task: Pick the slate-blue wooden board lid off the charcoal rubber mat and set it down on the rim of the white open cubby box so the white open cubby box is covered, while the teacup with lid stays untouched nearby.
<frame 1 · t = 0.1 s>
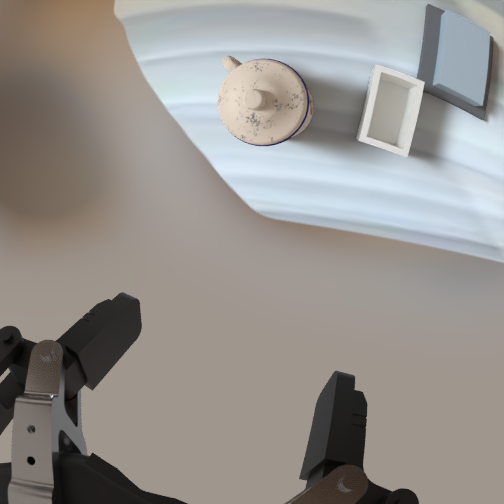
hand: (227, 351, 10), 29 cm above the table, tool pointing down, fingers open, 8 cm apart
teacup with lid: (272, 98, 32), on the table
mat: (456, 60, 22), on the table
white open cubby box: (385, 111, 29), on the table
lid: (459, 58, 21), point 1 cm above the table, touching mat
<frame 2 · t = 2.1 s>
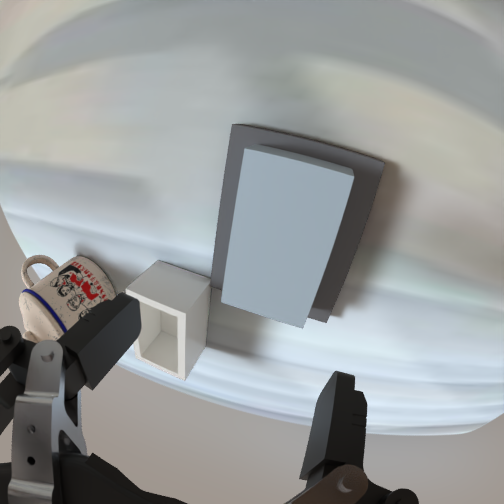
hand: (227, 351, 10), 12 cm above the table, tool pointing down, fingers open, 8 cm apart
teacup with lid: (86, 276, 31), on the table
mat: (288, 227, 21), on the table
white open cubby box: (182, 307, 27), on the table
lid: (286, 232, 20), point 1 cm above the table, touching mat
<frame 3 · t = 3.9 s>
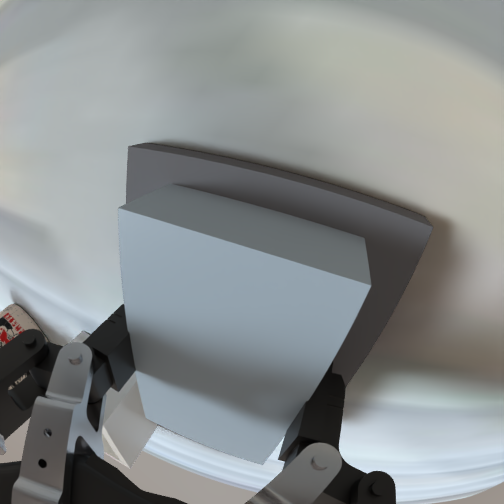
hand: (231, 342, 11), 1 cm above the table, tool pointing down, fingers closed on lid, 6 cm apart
teacup with lid: (27, 325, 22), on the table
mat: (242, 323, 12), on the table
white open cubby box: (122, 385, 19), on the table
lid: (234, 339, 11), point 1 cm above the table, touching gripper, mat
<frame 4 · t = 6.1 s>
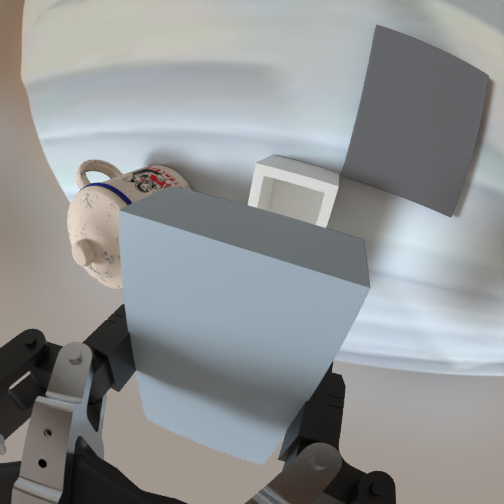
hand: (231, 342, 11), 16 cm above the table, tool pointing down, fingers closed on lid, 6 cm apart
teacup with lid: (154, 194, 28), on the table
mat: (419, 119, 18), on the table
white open cubby box: (292, 213, 24), on the table
lid: (234, 340, 11), point 16 cm above the table, touching gripper
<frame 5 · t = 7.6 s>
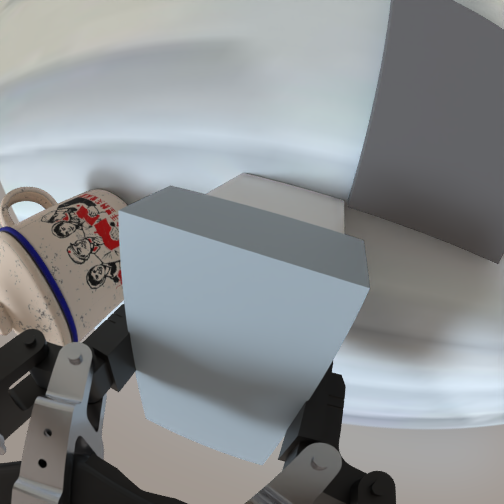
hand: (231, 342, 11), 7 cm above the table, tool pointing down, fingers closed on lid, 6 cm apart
teacup with lid: (100, 225, 21), on the table
mat: (464, 119, 10), on the table
white open cubby box: (275, 258, 17), on the table
lid: (234, 340, 11), point 7 cm above the table, touching gripper
when the fingers open (7 cm above the table, at t = 8.7 s): lid drops 1 cm, resting on white open cubby box.
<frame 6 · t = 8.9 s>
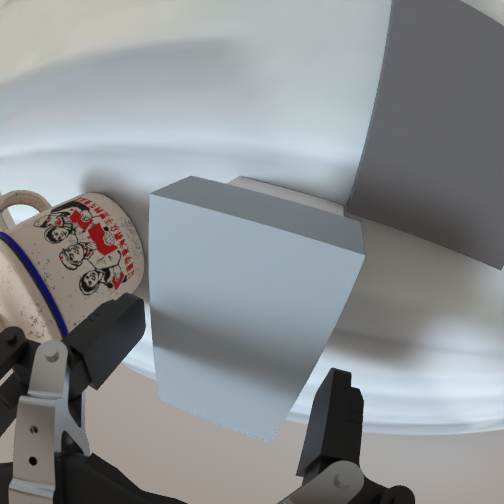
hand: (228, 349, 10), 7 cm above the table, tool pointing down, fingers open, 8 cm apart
teacup with lid: (95, 229, 20), on the table
mat: (467, 121, 10), on the table
white open cubby box: (272, 264, 17), on the table
lid: (245, 317, 12), point 5 cm above the table, touching white open cubby box
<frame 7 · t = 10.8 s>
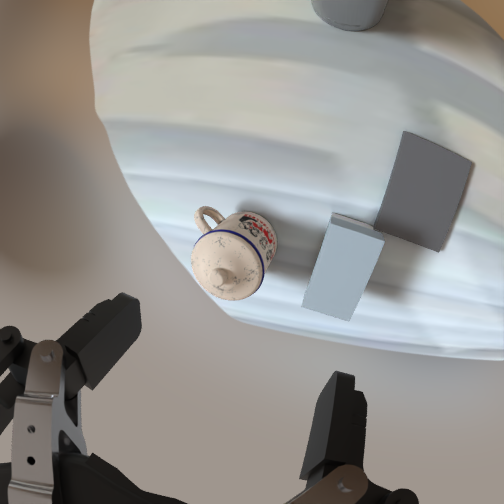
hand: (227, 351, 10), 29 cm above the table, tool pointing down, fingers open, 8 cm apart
teacup with lid: (242, 231, 41), on the table
mat: (423, 193, 31), on the table
lid: (341, 266, 33), point 5 cm above the table, touching white open cubby box
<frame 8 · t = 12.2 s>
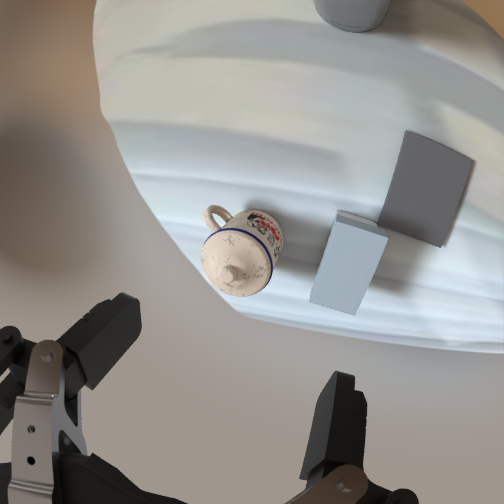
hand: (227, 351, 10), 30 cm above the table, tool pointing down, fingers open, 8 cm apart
teacup with lid: (249, 228, 42), on the table
mat: (425, 190, 32), on the table
lid: (347, 262, 34), point 5 cm above the table, touching white open cubby box
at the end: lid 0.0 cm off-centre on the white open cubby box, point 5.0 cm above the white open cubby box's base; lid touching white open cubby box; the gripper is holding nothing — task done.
